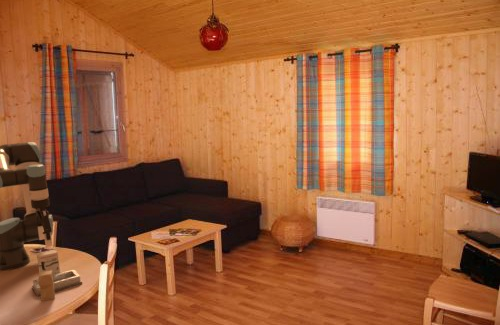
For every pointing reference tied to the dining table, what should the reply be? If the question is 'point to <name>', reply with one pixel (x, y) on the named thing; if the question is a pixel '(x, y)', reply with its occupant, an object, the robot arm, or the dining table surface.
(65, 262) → the dining table surface
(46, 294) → the box
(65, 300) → the dining table surface
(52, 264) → the ink box
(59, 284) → the rail plate
